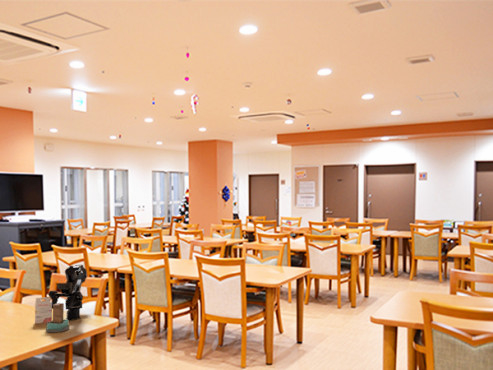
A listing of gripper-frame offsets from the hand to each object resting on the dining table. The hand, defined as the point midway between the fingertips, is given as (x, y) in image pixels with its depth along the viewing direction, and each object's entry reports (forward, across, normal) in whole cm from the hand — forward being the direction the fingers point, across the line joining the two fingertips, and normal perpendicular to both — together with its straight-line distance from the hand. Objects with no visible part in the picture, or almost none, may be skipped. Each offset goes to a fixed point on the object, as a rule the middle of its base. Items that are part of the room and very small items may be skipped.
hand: (60, 308), depth 236 cm
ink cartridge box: (0, -16, +16) cm, 23 cm away
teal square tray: (+9, 0, +6) cm, 11 cm away
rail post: (+9, 0, +5) cm, 10 cm away
